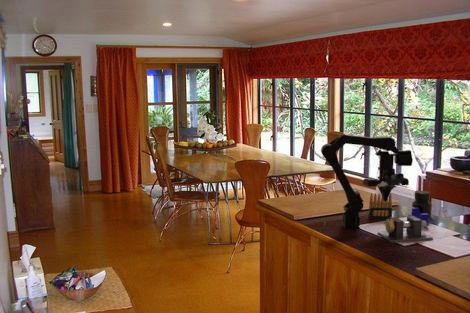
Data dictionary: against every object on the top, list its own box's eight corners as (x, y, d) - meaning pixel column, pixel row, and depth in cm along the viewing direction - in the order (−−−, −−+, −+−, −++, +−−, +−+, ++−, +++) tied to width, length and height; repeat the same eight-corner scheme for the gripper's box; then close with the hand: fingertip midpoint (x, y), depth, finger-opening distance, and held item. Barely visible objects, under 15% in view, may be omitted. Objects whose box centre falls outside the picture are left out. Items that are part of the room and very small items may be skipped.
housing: (391, 242, 202) (392, 223, 201) (377, 233, 214) (378, 216, 213) (432, 239, 205) (433, 221, 204) (416, 231, 217) (417, 214, 216)
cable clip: (408, 220, 235) (408, 207, 234) (417, 220, 235) (418, 207, 235) (417, 227, 223) (418, 214, 223) (427, 227, 223) (428, 214, 223)
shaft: (391, 234, 205) (392, 221, 204) (385, 230, 210) (385, 217, 210) (428, 232, 208) (429, 219, 207) (421, 228, 213) (421, 215, 213)
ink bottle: (411, 213, 247) (412, 189, 245) (431, 215, 244) (432, 190, 242) (411, 218, 238) (412, 193, 236) (431, 220, 235) (432, 194, 233)
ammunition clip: (391, 217, 240) (391, 192, 238) (392, 218, 238) (393, 193, 237) (368, 217, 240) (369, 192, 239) (369, 218, 239) (370, 193, 237)
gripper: (374, 169, 209) (373, 206, 211) (416, 167, 213) (414, 204, 215) (363, 165, 220) (362, 200, 222) (402, 164, 223) (401, 198, 226)
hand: (385, 201), depth 221 cm, fingers closed
